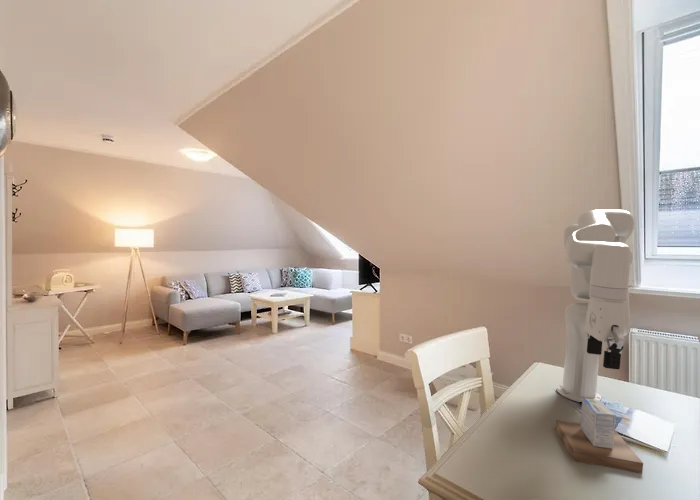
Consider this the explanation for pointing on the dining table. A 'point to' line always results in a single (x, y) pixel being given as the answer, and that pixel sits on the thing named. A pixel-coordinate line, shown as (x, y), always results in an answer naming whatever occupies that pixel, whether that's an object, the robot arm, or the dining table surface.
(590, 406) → the medicine box
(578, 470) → the dining table surface
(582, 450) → the brown wooden block
